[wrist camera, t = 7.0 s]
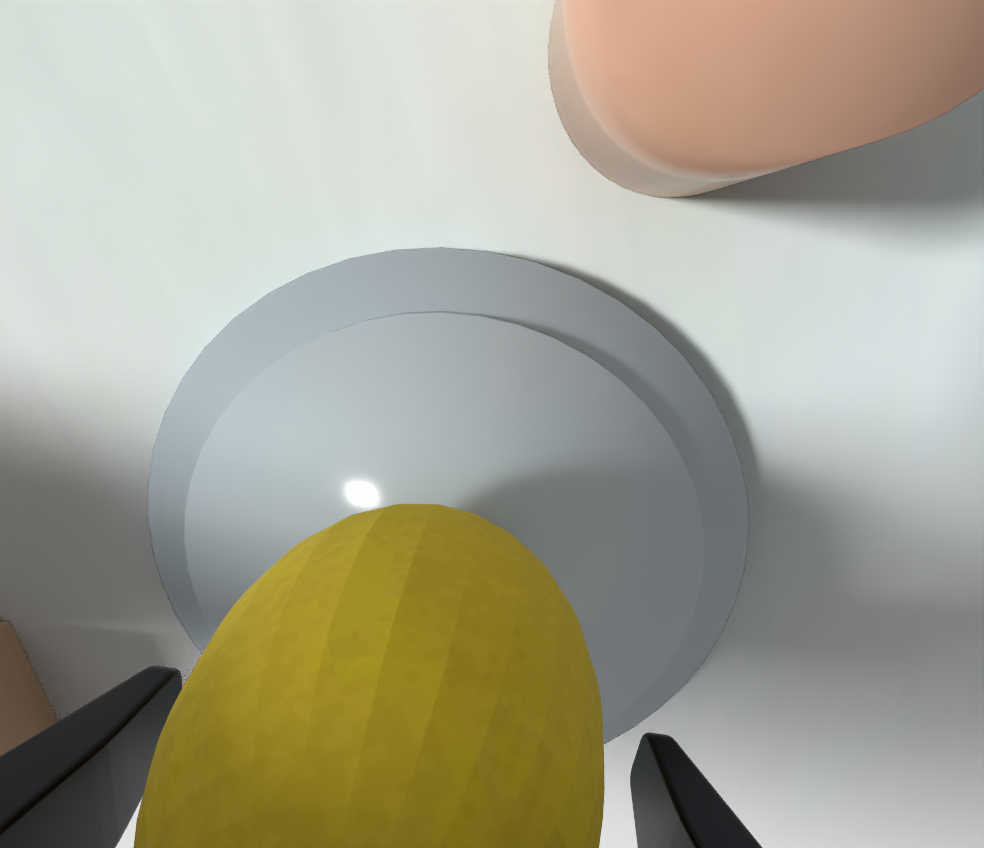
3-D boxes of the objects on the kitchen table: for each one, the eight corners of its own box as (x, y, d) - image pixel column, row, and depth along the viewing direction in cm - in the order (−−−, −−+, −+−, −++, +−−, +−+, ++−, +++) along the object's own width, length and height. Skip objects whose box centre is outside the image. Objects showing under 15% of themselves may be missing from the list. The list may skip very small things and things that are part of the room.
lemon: (614, 606, 11) (870, 1233, 3) (414, 732, 12) (238, 1507, 4) (466, 403, 11) (354, 593, 3) (263, 549, 11) (-303, 1045, 3)
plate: (177, 721, 15) (149, 761, 14) (145, 196, 10) (100, 189, 9) (654, 785, 15) (667, 829, 14) (823, 304, 11) (862, 311, 9)
